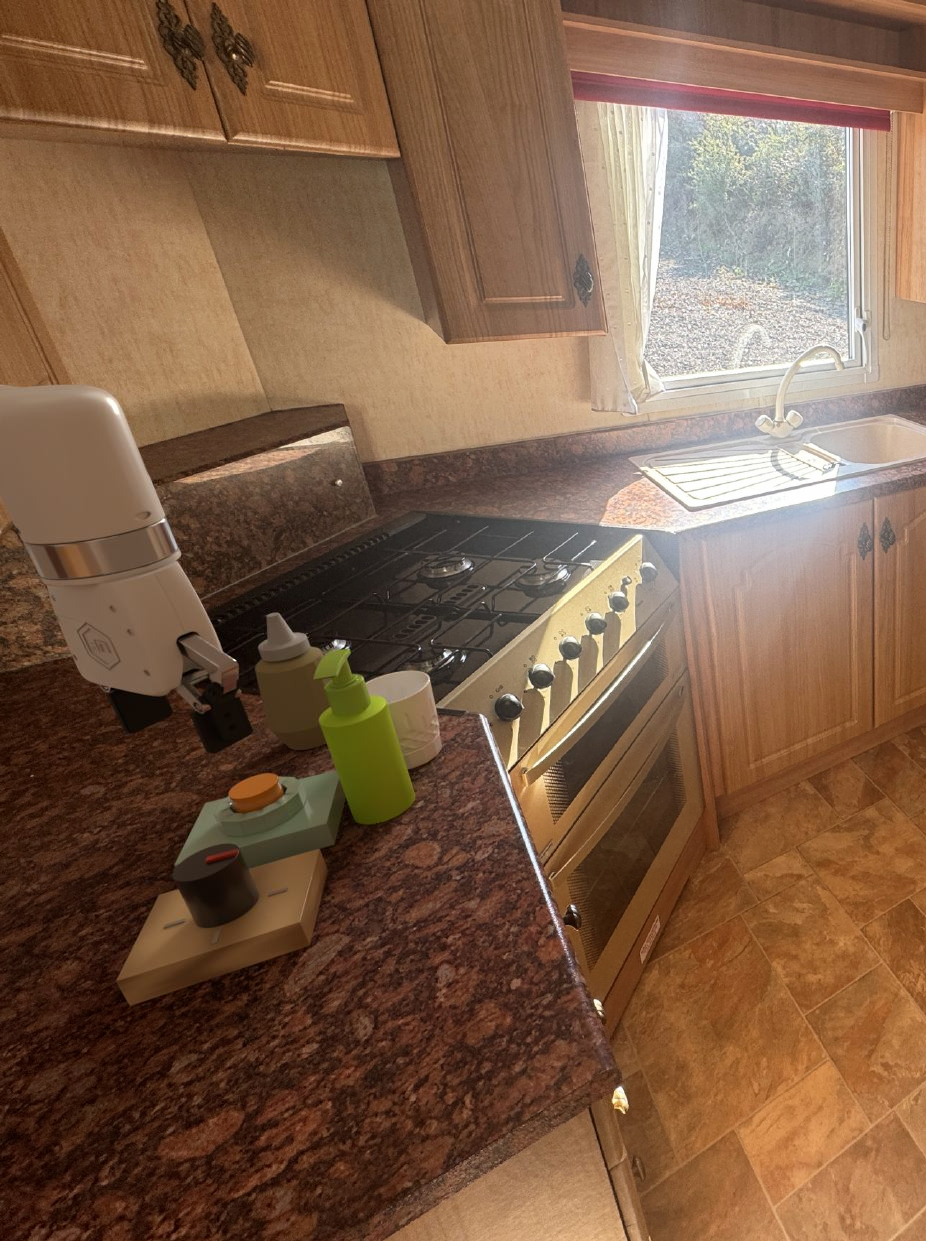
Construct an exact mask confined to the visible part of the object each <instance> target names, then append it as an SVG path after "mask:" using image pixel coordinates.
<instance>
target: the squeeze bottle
mask: <svg viewBox="0 0 926 1241" xmlns="http://www.w3.org/2000/svg"><path fill="white" fill-rule="evenodd" d="M266 634H267V639H265V640H263V641H262V642H261V643H259V644H258V647H257V650H258V652H259V655H260V658H261V659H260V660H259V661H258V662H257V664H256V665H255V667H254V671H255V676H256V681H257V685H258V690H259V694H260V699H261V702H262V703H261V704H262V708H263V712H264V716H265V721H266V725H267V728H268V729H269V730H270V732H272V734H274V735H275V736H276V738H277V739H279V740H280V741H281V742H282V743H283V744H284V745H285V746H287V748H288V749H289V750H294V751H306V750H311V749H315V748H319V747H322V746H324V745H327V743H326V740H325V737H324V734H323V731H322V729H321V726H320V723H319V717H320V716H321V714H322V713H323V712H324V711H326V710H327V709H328V708H330V705H329V702H328V699H327V696H326V693H325V690H324V687H325V685H326V684H327V683H328V682H329V681H331V680H332V678H328V679H322V680H316V681H315V680H314V679H313V677H314V674H315V671H316V669H317V666H318V664H319V663H320V661H321V660H322V658H323V657H324V656H325V654H324V652H323V651H322V650H321V649H320V648H318V647H315V646H311V644H310V641H309V640H308V636H307V635H306V633H303V632H293V631H292V629H291V628H290V626H289V625H288V624H287V622H286V621H285V619H284V617H282V615H281V614H280V613H279V612H272V613H269V614H267V615H266Z"/></svg>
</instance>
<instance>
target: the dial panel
mask: <svg viewBox="0 0 926 1241" xmlns="http://www.w3.org/2000/svg"><path fill="white" fill-rule="evenodd" d="M328 869H329V868H328V867H327V864H326V862H325V859H324V856H323V854H322V851H321V849H316V850H313V851H309V852H306V853H302V854H299V855H295V856H292V857H288V858H285V859H281V860H278V861H274V862H271V863H268V864H264V865H261V866H257V867H254V868H250V869H249V871H250V874H251V876H252V878H253V880H254V883H255V885H256V887H257V890H258V892H259V898H258V900H257V902H256V903H255V905H254V906H253V907H252V908H251V909H250V910H249V911H247V912H246V913H245V914H243V915H242V916H240V917H238V918H237V919H235V920H233V921H231V922H228V923H226V924H223V925H220V926H216V927H211V928H202V927H199V926H197V925H196V924H195V922H194V920H193V918H192V916H191V914H190V912H189V910H188V908H187V906H186V904H185V901H184V899H183V897H182V895H181V893H180V891H179V889H178V888H177V889H174V890H170V891H167V892H164V893H161V894H158V896H157V898H156V900H155V902H154V904H153V906H152V908H151V910H150V912H149V914H148V916H147V918H146V920H145V922H144V924H143V926H142V928H141V930H140V932H139V934H138V936H137V938H136V940H135V942H134V944H133V946H132V948H131V950H130V952H129V954H128V956H127V957H126V960H125V962H124V964H123V966H122V968H121V970H120V972H119V973H118V976H117V978H116V979H115V983H116V984H117V986H118V989H120V990H119V991H121V993H122V995H123V996H124V998H125V1000H126V1001H127V1004H128V1005H129V1007H131V1006H134V1005H135V1006H136V1005H138V1004H140V1003H143V1002H146V1001H150V1000H153V999H155V998H158V997H161V996H164V995H167V994H170V993H174V992H177V991H179V990H182V989H185V988H189V987H192V986H194V985H197V984H200V983H204V982H206V981H209V980H212V979H215V978H218V977H221V976H225V975H227V974H230V973H233V972H235V971H239V970H242V969H245V968H247V967H250V966H254V965H257V964H259V963H263V962H265V961H269V960H271V959H274V958H278V957H281V956H283V955H286V954H289V953H291V952H295V951H298V950H301V949H304V948H307V947H310V945H311V941H312V937H313V933H314V929H315V925H316V922H317V917H318V915H319V914H318V913H319V910H320V905H321V901H322V897H323V892H324V890H325V885H326V881H327V876H328V874H329V873H328V872H329V870H328Z"/></svg>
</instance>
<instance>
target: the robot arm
mask: <svg viewBox="0 0 926 1241" xmlns="http://www.w3.org/2000/svg"><path fill="white" fill-rule="evenodd" d="M0 499H1V502H2V503H3V505H4V507H5V509H6V511H7V513H8V515H9V517H10V519H11V521H12V523H13V525H14V527H15V530H16V531H17V533H18V535H19V537H20V540H22V543H23V545H24V548H25V550H26V551H27V553H28V555H29V557H30V559H31V561H32V563H33V566H34V567H35V569H36V571H37V574H38V575H39V578H40V580H41V582H42V583H43V584H44V585H45V586H46V588H47V592H48V596H49V599H50V603H51V606H52V608H53V612H54V616H55V617H56V620H57V623H58V625H59V628H60V630H61V632H62V636H63V638H64V640H65V642H66V644H67V647H68V650H69V652H70V655H71V656H72V659H73V662H74V663H75V665H76V668H77V670H78V672H79V674H80V675H81V676H82V678H84V679H85V680H86V681H88V682H90V683H93V684H97V685H98V686H99V687H100V688H101V690H102V691H103V692H105V693H107V694H106V697H107V699H108V701H109V703H110V704H111V707H112V709H113V711H114V713H115V715H116V717H117V719H118V721H119V723H120V725H121V727H122V729H123V732H125V733H127V734H136V733H138V732H140V731H142V730H144V729H146V728H149V727H151V726H153V725H156V724H158V723H159V722H161V721H163V720H166V719H168V718H170V717H171V716H172V715H173V714H174V711H173V708H172V705H171V703H170V702H169V699H168V697H167V695H168V694H170V693H171V690H175V692H177V694H178V695H179V696H180V697H181V698H183V700H184V701H186V703H187V704H188V705H189V706H190V707H191V708H192V709H193V710H194V711H192V712H190V713H189V717H190V719H191V721H192V723H193V725H194V728H195V730H196V732H197V734H198V737H199V739H200V742H201V743H202V745H203V748H204V750H205V752H206V753H209V754H213V755H214V754H218V753H219V752H221V751H223V750H225V749H227V748H229V747H230V746H233V745H234V744H236V743H238V742H240V741H242V740H244V739H246V738H248V737H249V736H251V735H252V734H253V732H254V729H253V726H252V724H251V721H250V719H249V717H248V714H247V712H246V710H245V707H244V705H243V702H242V699H241V696H242V689H241V686H242V679H240V677H239V672H240V665H239V662H237V660H236V659H234V658H233V657H232V656H230V655H228V654H227V653H225V652H224V651H223V648H222V645H221V642H220V640H219V637H218V634H217V632H216V630H215V628H214V625H213V624H212V621H211V619H210V617H209V615H208V612H207V611H206V609H205V607H204V604H202V601H201V599H200V597H199V595H198V594H197V592H196V589H195V588H194V587H193V585H192V582H191V581H190V580H189V577H188V575H187V574H186V573H185V571H184V570H183V568H182V566H181V565H180V563H179V562H178V560H179V559H180V558H181V557H182V551H181V550H180V547H179V544H178V542H177V539H176V538H175V534H174V532H173V530H172V528H171V525H170V522H169V520H168V517H167V516H166V513H165V511H164V508H163V506H162V503H161V500H160V498H159V496H158V494H157V491H156V488H155V486H154V484H153V480H152V479H151V476H150V474H149V472H148V470H147V466H146V465H145V462H144V460H143V457H142V454H141V452H140V449H139V447H138V445H137V442H136V440H135V437H134V435H133V433H132V430H131V427H130V425H129V423H128V420H127V418H126V415H125V413H124V411H123V409H122V406H121V405H120V403H119V401H118V400H117V399H116V397H114V396H113V395H112V394H111V393H110V392H109V391H107V390H105V389H103V388H100V387H98V386H93V385H85V384H47V385H46V384H45V385H32V386H15V385H7V384H0ZM194 669H196V671H194V672H192V673H190V674H187V675H185V676H183V674H185V673H186V672H188V671H191V670H194ZM207 679H209V680H210V681H211V682H210V683H208V684H207V685H206V687H205V688H204V690H203V692H202V694H201V693H200V692H199V691H198V690H197V688H195V687H194V685H196V684H199V683H200V682H203V681H205V680H207Z"/></svg>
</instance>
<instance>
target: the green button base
mask: <svg viewBox="0 0 926 1241" xmlns="http://www.w3.org/2000/svg"><path fill="white" fill-rule="evenodd" d="M278 778H279V780H280V783H281V785H282V788H283V791H284V795H283V796H282V797H281V798H280V799H279V800H278V801H276V802H275V803H273V804H271V805H269V806H267V807H264V808H262V809H260V810H256V811H253V812H249V813H237V812H236V811H235V809H234V807H233V805H232V802H231V800H230V798H229V795H228V796H226V797H224V798H223V797H222V798H219V799H215V800H212V801H207V802H204V804H203V807H202V809H201V810H200V812H199V815H198V816H197V819H196V820H195V822H194V824H193V827H192V828H191V831H190V833H189V835H188V836H187V838H186V840H185V843H184V844H183V847H182V849H181V851H180V853H179V855H178V857H177V858H176V861H175V862H174V864H173V866H174V869H175V868H176V867H177V866H178V865H179V864H180V863H181V862H182V861H183V860H185V859H186V858H188V857H189V856H191V855H192V854H194V853H196V852H198V851H200V850H203V849H205V848H208V847H211V846H214V845H219V844H227V843H229V844H235V845H237V846H238V847H239V848H240V851H241V853H242V855H243V858H244V860H245V862H246V864H247V867H248V869H250V868H254V867H257V866H261V865H264V864H268V863H271V862H274V861H278V860H281V859H285V858H288V857H292V856H295V855H299V854H302V853H306V852H309V851H313V850H316V849H320V850H321V849H324V848H328V847H332V846H335V845H336V840H337V835H338V832H339V827H340V824H341V819H342V815H343V812H344V807H345V804H344V803H346V800H345V798H346V796H345V793H344V790H343V788H342V785H341V782H340V779H339V776H338V774H337V771H336V769H335V770H331V771H327V772H323V773H320V774H315V775H311V776H307V777H303V778H300V779H299V778H298V779H297V778H296V777H295V776H278Z"/></svg>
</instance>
